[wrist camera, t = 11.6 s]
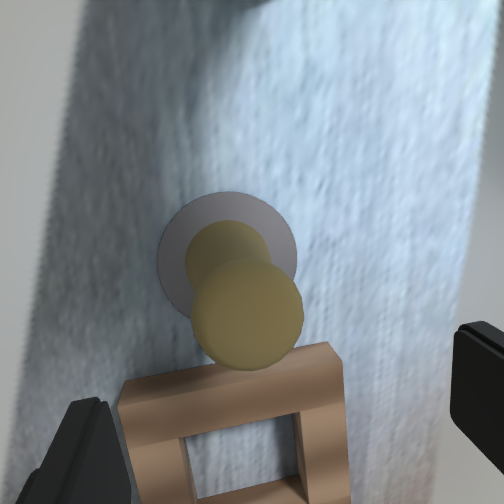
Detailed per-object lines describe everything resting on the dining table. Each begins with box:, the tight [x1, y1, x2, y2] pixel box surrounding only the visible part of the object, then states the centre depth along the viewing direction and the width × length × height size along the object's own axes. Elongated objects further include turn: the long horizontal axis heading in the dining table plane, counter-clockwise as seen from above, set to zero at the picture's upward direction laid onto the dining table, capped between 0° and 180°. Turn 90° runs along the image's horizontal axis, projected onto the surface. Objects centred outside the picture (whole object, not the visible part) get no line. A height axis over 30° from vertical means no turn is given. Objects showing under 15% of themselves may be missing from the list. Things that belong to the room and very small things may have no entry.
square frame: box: [117, 342, 351, 504], centre depth 29 cm, size 16×16×3 cm
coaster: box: [157, 192, 297, 319], centre depth 26 cm, size 10×10×1 cm
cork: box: [185, 220, 304, 371], centre depth 20 cm, size 6×6×11 cm
